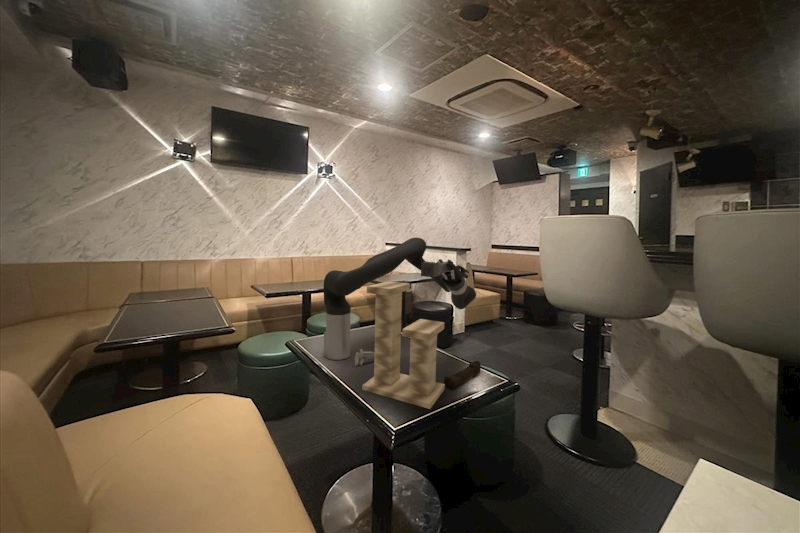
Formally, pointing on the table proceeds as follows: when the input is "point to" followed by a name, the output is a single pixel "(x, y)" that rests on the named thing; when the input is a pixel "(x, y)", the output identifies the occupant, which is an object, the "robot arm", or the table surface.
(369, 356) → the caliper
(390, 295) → the stand
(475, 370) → the dark brown bar
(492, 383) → the table surface
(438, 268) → the spirit level
